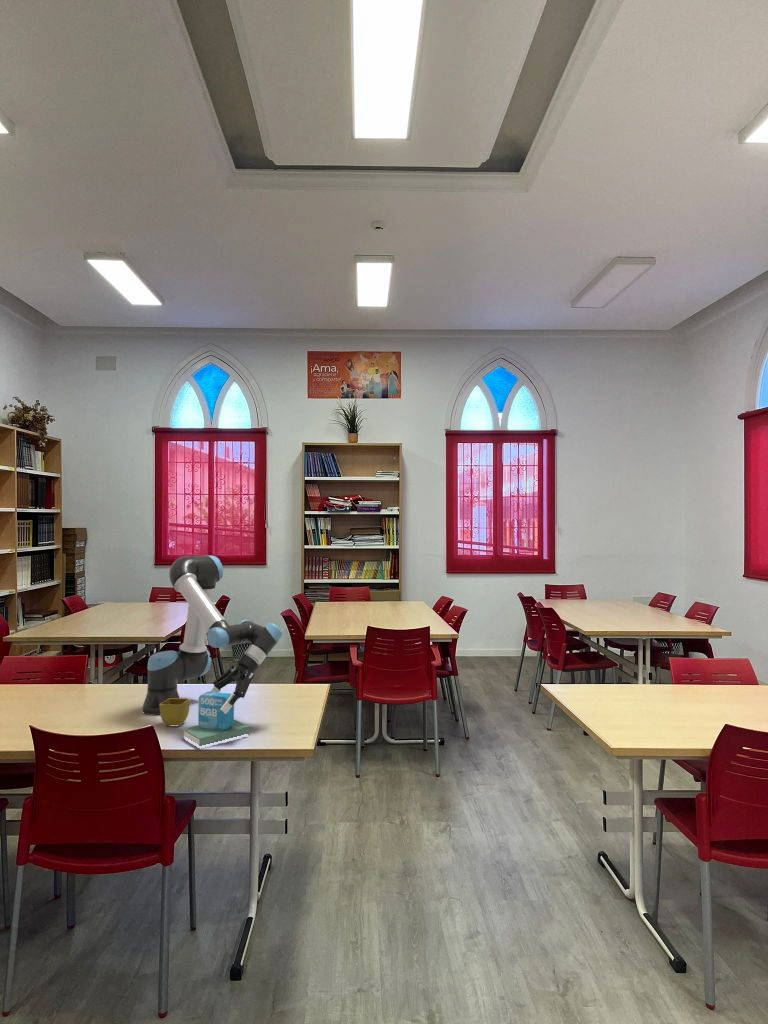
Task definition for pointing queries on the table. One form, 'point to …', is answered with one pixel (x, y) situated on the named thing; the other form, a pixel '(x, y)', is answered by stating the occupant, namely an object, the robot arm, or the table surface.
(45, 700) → the table surface
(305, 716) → the table surface
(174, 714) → the flower pot
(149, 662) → the robot arm
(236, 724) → the green book
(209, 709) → the data package
